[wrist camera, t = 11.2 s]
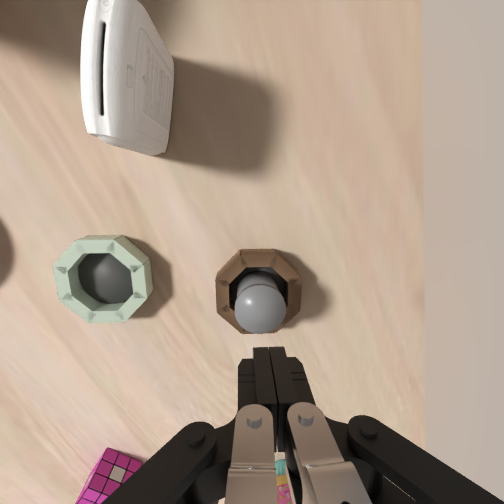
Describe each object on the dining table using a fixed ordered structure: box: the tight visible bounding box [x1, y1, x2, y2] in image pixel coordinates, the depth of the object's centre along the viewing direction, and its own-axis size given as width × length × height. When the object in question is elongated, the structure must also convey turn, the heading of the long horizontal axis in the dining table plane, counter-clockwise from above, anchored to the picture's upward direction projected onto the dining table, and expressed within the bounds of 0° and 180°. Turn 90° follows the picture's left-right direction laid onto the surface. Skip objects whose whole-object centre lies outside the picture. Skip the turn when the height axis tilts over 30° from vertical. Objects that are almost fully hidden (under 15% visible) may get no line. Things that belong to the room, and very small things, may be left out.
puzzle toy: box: [75, 448, 142, 504], centre depth 40 cm, size 6×6×6 cm
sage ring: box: [53, 235, 153, 323], centre depth 34 cm, size 10×10×2 cm
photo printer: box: [80, 0, 174, 156], centre depth 25 cm, size 10×4×12 cm, turn 171°
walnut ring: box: [215, 249, 301, 334], centre depth 35 cm, size 10×10×2 cm
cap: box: [235, 270, 286, 334], centre depth 33 cm, size 5×5×6 cm
